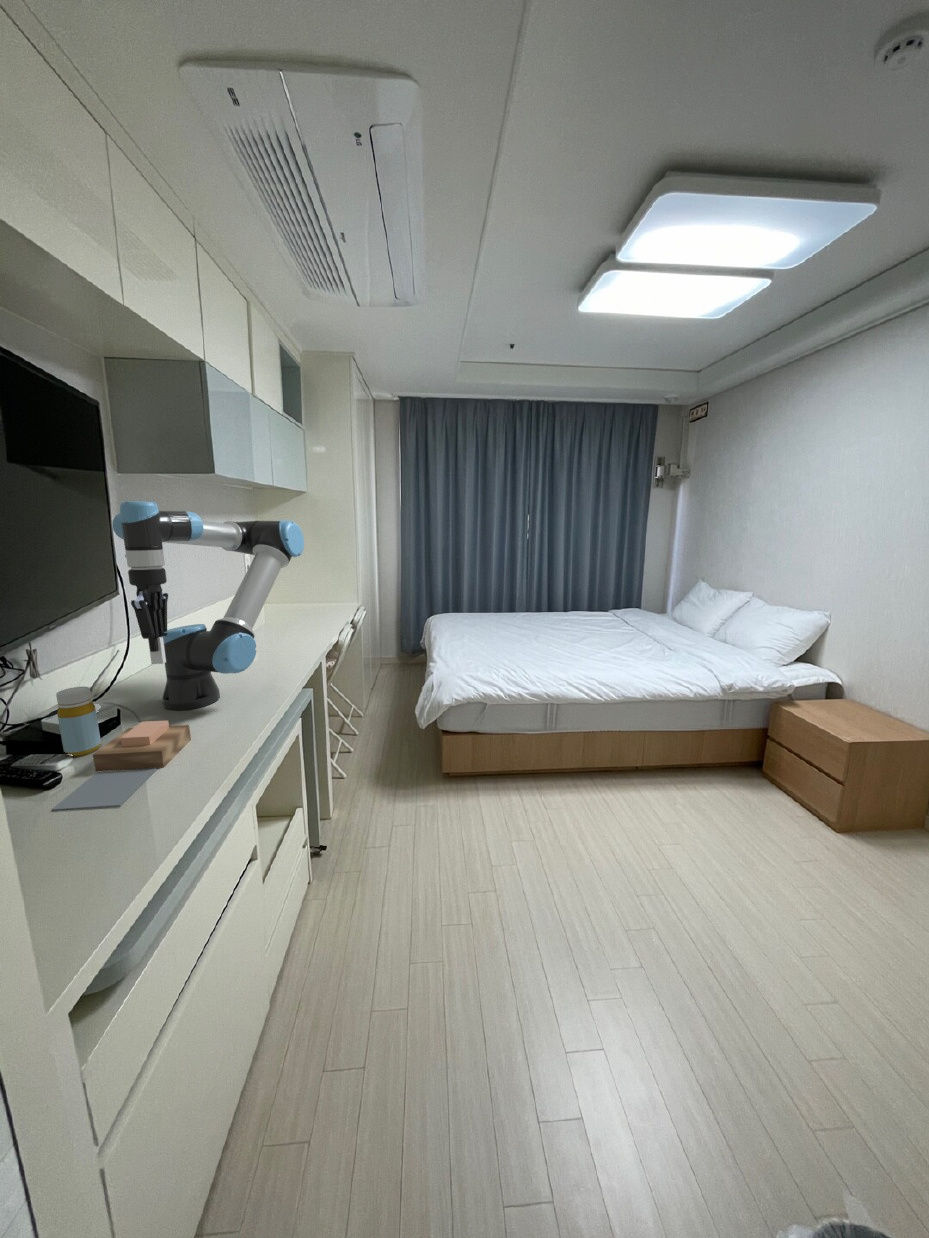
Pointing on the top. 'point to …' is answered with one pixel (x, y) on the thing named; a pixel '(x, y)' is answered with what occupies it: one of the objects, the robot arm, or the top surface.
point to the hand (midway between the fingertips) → (158, 662)
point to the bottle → (78, 721)
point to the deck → (142, 751)
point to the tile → (144, 733)
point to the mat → (105, 790)
